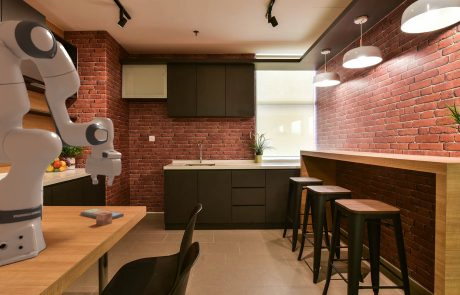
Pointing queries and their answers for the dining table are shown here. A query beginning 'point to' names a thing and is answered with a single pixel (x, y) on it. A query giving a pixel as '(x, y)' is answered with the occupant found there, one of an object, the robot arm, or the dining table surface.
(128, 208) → the dining table surface
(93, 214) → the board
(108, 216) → the terracotta cube
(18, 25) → the robot arm
